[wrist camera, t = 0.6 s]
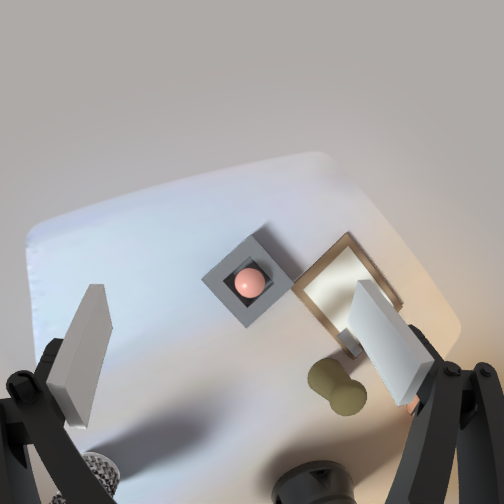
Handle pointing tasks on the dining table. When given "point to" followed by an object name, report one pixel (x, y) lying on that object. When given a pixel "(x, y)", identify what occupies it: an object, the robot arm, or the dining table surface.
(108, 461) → the decorative candle
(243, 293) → the button
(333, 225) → the dining table surface
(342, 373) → the pepper shaker
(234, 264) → the button housing
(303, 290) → the clipboard
